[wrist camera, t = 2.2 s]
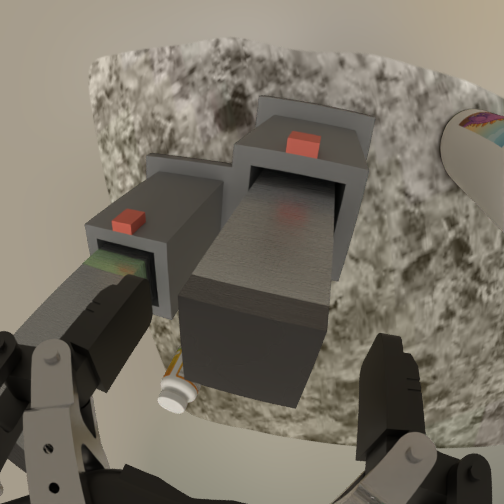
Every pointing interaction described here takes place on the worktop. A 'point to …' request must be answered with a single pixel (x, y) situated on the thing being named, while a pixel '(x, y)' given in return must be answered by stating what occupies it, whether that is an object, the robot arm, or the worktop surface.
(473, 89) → the worktop surface
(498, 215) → the milk bottle
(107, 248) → the column
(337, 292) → the worktop surface
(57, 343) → the robot arm
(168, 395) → the supplement bottle
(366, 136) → the stand
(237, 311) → the column
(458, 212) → the worktop surface
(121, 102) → the worktop surface
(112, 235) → the stand
